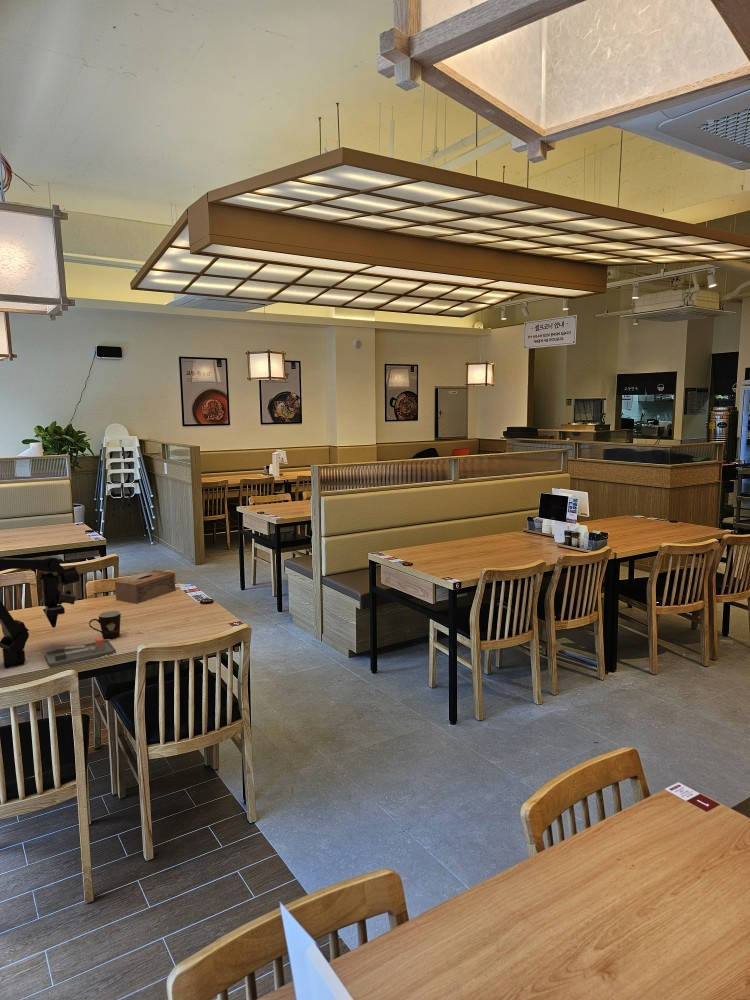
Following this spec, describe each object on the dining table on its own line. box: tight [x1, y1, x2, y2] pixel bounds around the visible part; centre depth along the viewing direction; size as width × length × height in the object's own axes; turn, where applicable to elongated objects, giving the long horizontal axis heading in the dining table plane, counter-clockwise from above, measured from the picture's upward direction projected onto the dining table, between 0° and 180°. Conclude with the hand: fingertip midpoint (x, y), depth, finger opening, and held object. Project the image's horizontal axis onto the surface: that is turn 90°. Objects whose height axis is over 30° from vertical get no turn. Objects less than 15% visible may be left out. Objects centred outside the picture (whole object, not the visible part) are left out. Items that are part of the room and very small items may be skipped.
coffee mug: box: [88, 610, 122, 640], centre depth 260 cm, size 12×9×10 cm
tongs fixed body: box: [55, 645, 105, 661], centre depth 239 cm, size 18×4×2 cm, turn 125°
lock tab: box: [95, 636, 105, 647], centre depth 243 cm, size 2×4×2 cm, turn 35°
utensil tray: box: [43, 639, 117, 669], centre depth 241 cm, size 23×14×2 cm, turn 125°
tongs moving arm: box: [53, 645, 86, 654], centre depth 241 cm, size 11×2×2 cm, turn 103°
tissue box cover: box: [114, 569, 176, 605], centre depth 321 cm, size 26×14×10 cm, turn 153°
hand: (53, 627), depth 244 cm, fingers closed
